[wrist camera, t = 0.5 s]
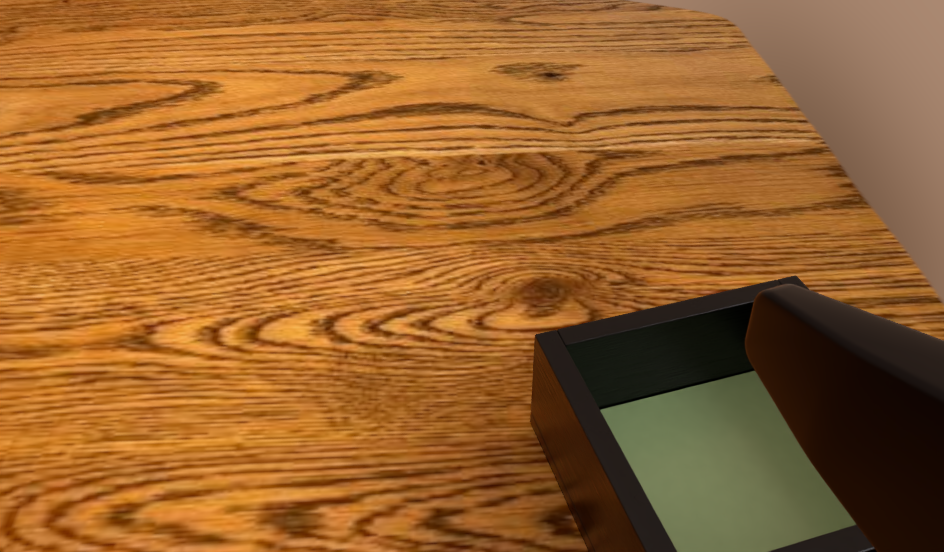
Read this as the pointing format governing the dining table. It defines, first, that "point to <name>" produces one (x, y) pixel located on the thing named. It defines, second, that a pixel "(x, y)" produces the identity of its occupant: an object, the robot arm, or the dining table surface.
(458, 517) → the dining table surface
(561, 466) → the divided tray
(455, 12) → the dining table surface
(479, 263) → the dining table surface
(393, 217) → the dining table surface
